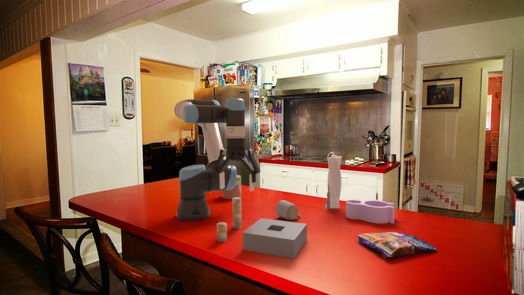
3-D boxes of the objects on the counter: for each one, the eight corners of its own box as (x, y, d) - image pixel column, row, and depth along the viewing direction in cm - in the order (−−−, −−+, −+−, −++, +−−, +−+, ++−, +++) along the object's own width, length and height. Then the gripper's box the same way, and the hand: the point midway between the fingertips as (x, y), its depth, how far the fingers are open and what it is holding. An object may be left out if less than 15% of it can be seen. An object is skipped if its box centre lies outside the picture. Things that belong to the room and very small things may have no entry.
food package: (348, 241, 108) (348, 229, 107) (404, 233, 115) (405, 222, 115) (391, 269, 87) (391, 255, 87) (456, 257, 94) (456, 244, 94)
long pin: (231, 227, 121) (230, 199, 120) (235, 225, 124) (234, 197, 123) (239, 229, 119) (238, 199, 119) (243, 226, 123) (242, 197, 122)
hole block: (242, 249, 100) (242, 232, 99) (261, 233, 114) (261, 218, 114) (294, 258, 93) (294, 240, 92) (306, 240, 108) (306, 223, 107)
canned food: (240, 198, 168) (240, 178, 167) (220, 199, 168) (220, 178, 167) (242, 194, 179) (241, 174, 178) (223, 194, 179) (223, 174, 178)
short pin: (215, 240, 108) (214, 224, 107) (220, 237, 111) (220, 221, 110) (223, 242, 106) (223, 226, 106) (228, 238, 110) (228, 223, 109)
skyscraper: (323, 205, 154) (324, 151, 152) (339, 205, 154) (340, 151, 152) (326, 209, 146) (327, 153, 144) (343, 209, 146) (344, 153, 143)
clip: (344, 219, 130) (344, 204, 130) (348, 212, 142) (348, 197, 141) (394, 225, 122) (394, 209, 122) (393, 216, 134) (394, 201, 133)
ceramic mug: (288, 222, 127) (288, 204, 126) (275, 218, 133) (275, 201, 133) (304, 217, 134) (304, 201, 133) (291, 213, 140) (291, 197, 139)
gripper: (204, 137, 120) (205, 189, 122) (260, 137, 111) (261, 193, 112) (214, 137, 127) (215, 185, 129) (268, 137, 117) (268, 189, 119)
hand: (236, 189), depth 120 cm, fingers open, 13 cm apart
